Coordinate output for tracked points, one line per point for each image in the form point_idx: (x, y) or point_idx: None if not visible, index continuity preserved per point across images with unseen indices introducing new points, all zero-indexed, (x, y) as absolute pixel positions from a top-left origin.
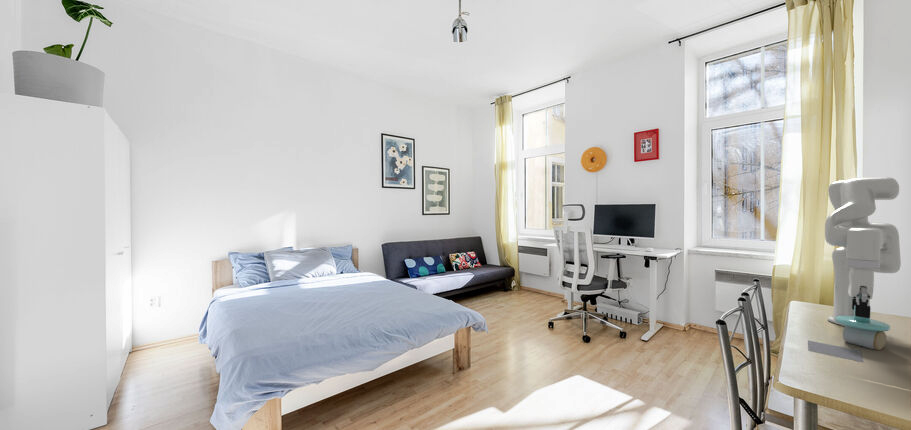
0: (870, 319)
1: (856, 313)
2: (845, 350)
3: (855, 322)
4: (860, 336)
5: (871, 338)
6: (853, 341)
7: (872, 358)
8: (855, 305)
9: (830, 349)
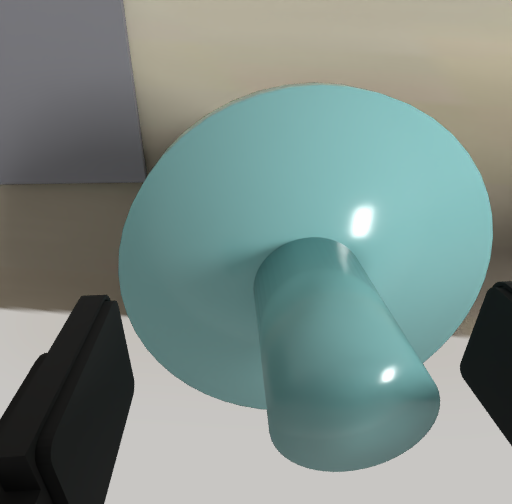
0: (436, 335)
1: (69, 327)
2: (59, 113)
3: (204, 243)
4: None
5: None
6: None
7: (64, 223)
8: (6, 433)
9: None
